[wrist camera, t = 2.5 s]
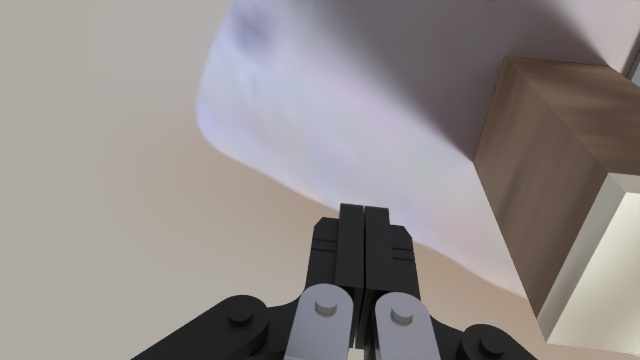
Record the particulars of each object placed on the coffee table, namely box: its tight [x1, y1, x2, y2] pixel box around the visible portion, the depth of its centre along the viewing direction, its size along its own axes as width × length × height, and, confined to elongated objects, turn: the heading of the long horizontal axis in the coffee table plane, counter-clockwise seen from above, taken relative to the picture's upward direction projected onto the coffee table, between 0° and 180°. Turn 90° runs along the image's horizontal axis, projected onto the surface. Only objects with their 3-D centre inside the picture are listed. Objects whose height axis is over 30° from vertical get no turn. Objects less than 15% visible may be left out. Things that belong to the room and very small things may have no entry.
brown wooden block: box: [473, 56, 640, 354], centre depth 18 cm, size 5×6×12 cm
